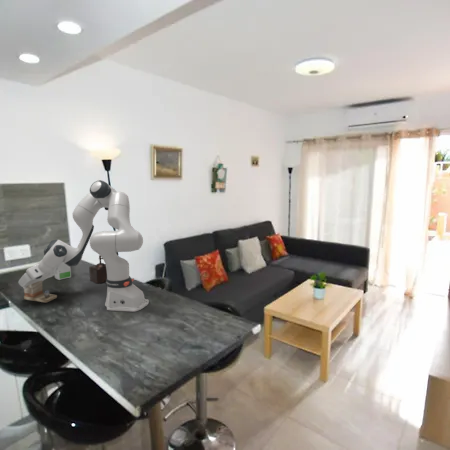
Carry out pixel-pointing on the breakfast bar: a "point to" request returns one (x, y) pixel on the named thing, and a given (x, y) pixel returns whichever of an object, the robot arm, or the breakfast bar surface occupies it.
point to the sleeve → (33, 289)
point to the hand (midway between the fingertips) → (32, 284)
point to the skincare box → (63, 272)
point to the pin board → (42, 297)
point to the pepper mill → (98, 272)
